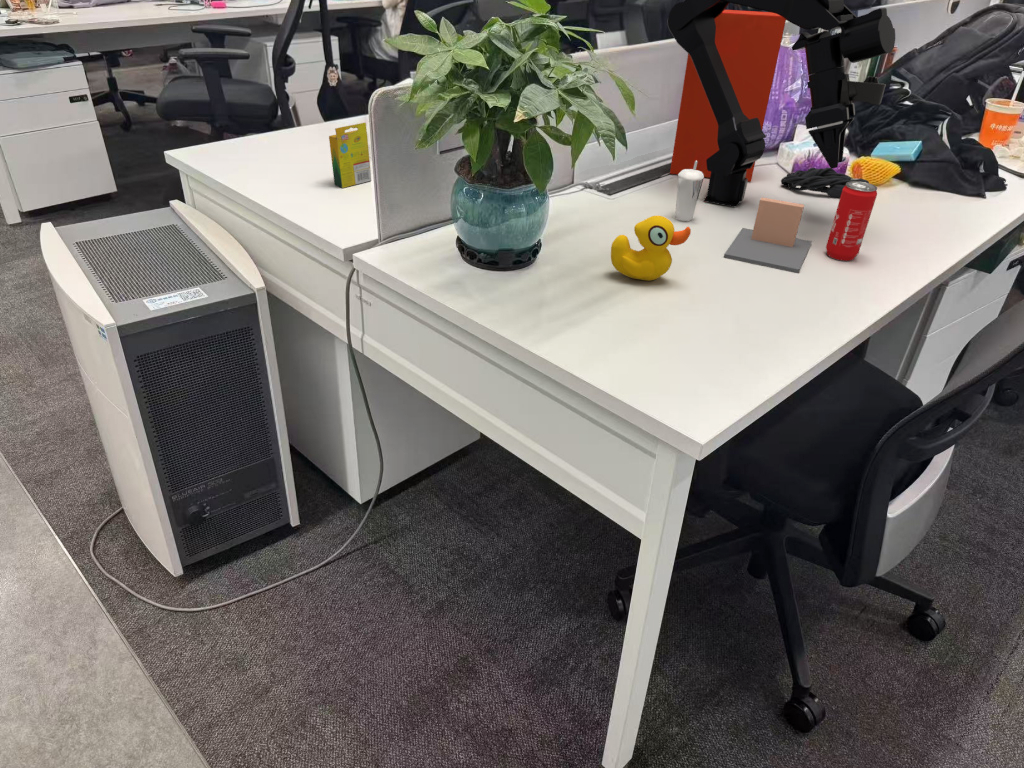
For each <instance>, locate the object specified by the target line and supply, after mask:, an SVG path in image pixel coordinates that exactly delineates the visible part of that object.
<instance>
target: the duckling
mask: <svg viewBox="0 0 1024 768" xmlns="http://www.w3.org/2000/svg"><path fill="white" fill-rule="evenodd" d="M633 230H634V234H635V236H636V237H637V239H638V240H637V241H638V243H639V244H640V245H641V247H642V249H641V250H636V249H633V248H631V245H630V240H629V238H628V237H627V235H625V234H619V235H618V236H616V237H615V239H614V240H613V241H612V243H611V246H610V260H611V264H612V266H613V267H614V269H615V270H616V271H617V272H619V273H621V274H622V275H624V276H626V277H628V278H631V279H633V280H634V279H635V280H640V281H651V282H652V281H654V280H657V279H659V278H661V276H663V275H665V274H666V273H667V272H668V271H669V270H670V268H671V266H672V264H673V258H672V254H671V252H670V251H669V250H668V247H669V246H679V245H682V244H684V243H685V242H687V241H688V239H689V237H690V236H691V233H692V231H691V228H690V226H686V227H685V228H684V229H682V230H678V231H675V227H674V223H673V222H672V221H671V220H670V219H669V218H667V217H665V216H662V215H652V216H650V217H647V218H646V219H644V220H641V221H639V222H637V223H636V224H635V225H634V229H633Z"/></svg>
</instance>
